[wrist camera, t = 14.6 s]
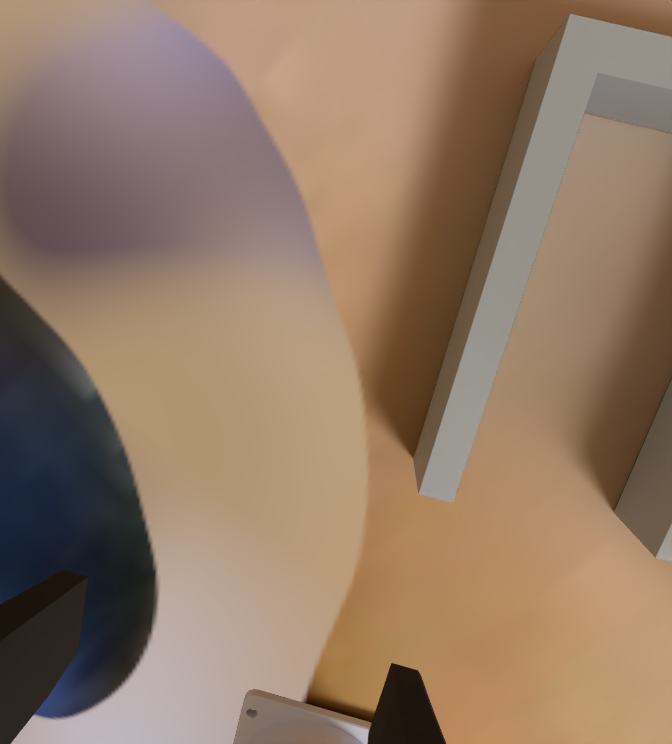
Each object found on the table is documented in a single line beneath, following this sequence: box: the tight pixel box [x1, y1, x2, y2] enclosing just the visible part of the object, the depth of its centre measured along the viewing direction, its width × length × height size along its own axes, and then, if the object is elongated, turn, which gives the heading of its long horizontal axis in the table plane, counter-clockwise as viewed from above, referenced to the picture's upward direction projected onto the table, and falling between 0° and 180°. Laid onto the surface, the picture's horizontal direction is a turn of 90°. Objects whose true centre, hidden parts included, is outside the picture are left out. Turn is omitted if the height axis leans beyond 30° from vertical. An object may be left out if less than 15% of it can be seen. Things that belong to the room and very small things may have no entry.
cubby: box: [413, 14, 672, 562], centre depth 16 cm, size 15×9×3 cm, turn 167°
